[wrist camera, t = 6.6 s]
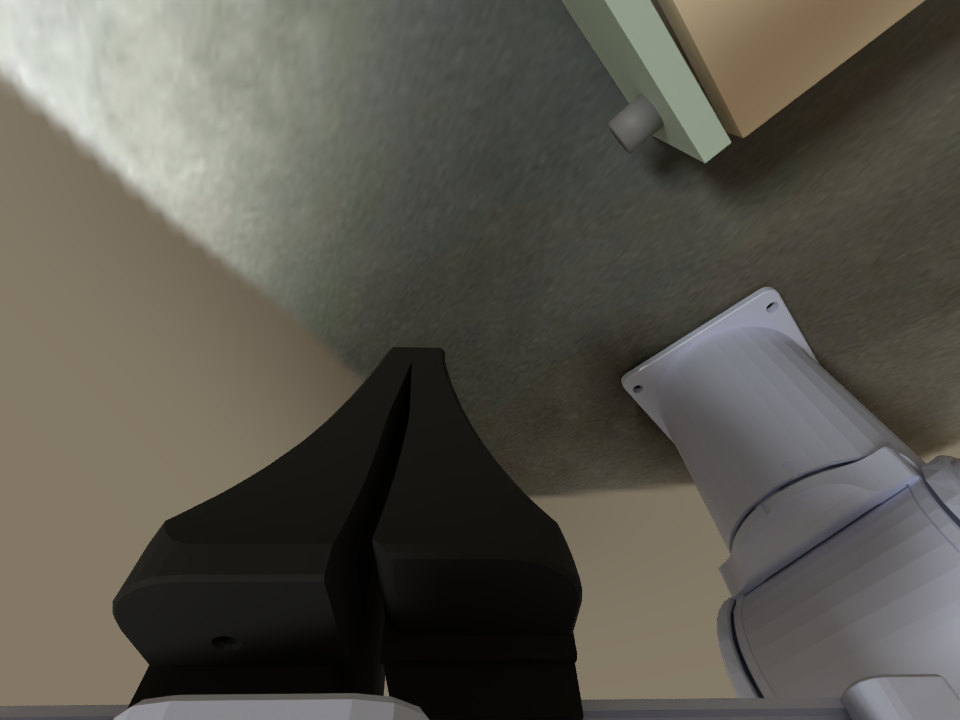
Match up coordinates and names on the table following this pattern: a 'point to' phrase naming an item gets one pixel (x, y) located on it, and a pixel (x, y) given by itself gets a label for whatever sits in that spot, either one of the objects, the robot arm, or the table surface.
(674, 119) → the cabinet door
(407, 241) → the table surface
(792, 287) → the table surface
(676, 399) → the robot arm
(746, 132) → the cabinet
